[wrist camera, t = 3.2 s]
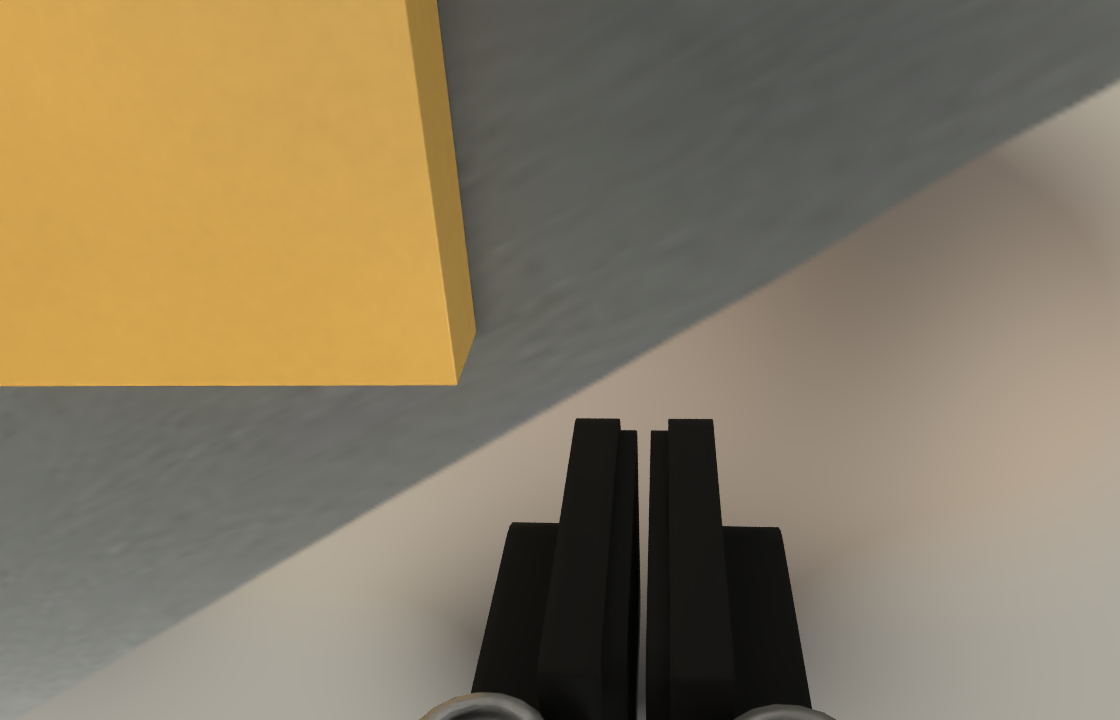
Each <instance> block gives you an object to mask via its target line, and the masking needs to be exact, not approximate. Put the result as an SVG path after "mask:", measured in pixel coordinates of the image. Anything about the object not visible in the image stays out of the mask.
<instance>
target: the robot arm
mask: <svg viewBox="0 0 1120 720" xmlns="http://www.w3.org/2000/svg"><path fill="white" fill-rule="evenodd" d="M668 424H669V425H668V431H651V450H650V451H651V453H650V494H649V539H648V540H649V541H648V544H649V545H648V586H647V630H646V632H647V633H646V720H836V719H834V718H832V717H830V716H829V715H827V714H825V713H823V712H819V711H816V710H813V709H812V706H811V700H810V694H809V689H808V683H807V677H806V671H805V665H804V660H803V654H802V648H801V643H800V637H799V631H798V625H797V619H796V614H795V608H794V602H793V596H792V590H791V584H790V578H789V573H788V567H787V561H786V556H785V550H784V544H783V539H782V534H781V531H780V529H779V528H778V527H734V526H733V527H732V526H722V518H721V508H720V495H719V484H718V473H717V461H716V451H715V450H716V449H715V438H714V426H713V420H712V419H669V420H668ZM637 451H638V446H637V431H636V430H621V426H620V419H590V418H585V419H584V418H582V419H581V418H580V419H579V418H577V419H576V420H575V425H574V432H573V438H572V445H571V451H570V458H569V464H568V471H567V477H566V483H565V490H564V496H563V503H562V509H561V516H560V522H559V523H525V522H524V523H523V522H520V523H519V522H513V523H512V524H511V525H510V527H509V530H508V533H507V537H506V542H505V546H504V551H503V555H502V559H501V564H500V568H499V572H498V577H497V581H496V585H495V590H494V594H493V598H492V603H491V607H490V612H489V616H488V620H487V625H486V629H485V633H484V638H483V642H482V647H481V651H480V655H479V660H478V664H477V668H476V673H475V678H474V681H473V686H472V690H471V694H468V695H462V696H458V697H454V698H452V699H450V700H448V701H446V702H444V703H442V704H440V705H438V706H436V707H434V708H433V709H431V710H430V711H429V712H428V713H427V714H426V715H425V716H423V717H422V718H421V719H420V720H637V709H638V678H639V676H638V675H639V645H640V550H639V501H638V499H639V498H638V452H637Z"/></svg>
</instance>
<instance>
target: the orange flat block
mask: <svg viewBox="0 0 1120 720" xmlns="http://www.w3.org/2000/svg"><path fill="white" fill-rule="evenodd" d="M475 334H476V326H475V317H474V309H473V301H472V292H471V284H470V275H469V267H468V259H467V250H466V242H465V234H464V225H463V217H462V208H461V200H460V192H459V183H458V175H457V166H456V158H455V150H454V141H453V133H452V125H451V116H450V108H449V99H448V91H447V83H446V74H445V66H444V58H443V49H442V41H441V32H440V24H439V16H438V7H437V0H0V386H280V385H457V384H458V381H459V378H460V376H461V373H462V370H463V367H464V364H465V362H466V359H467V356H468V353H469V351H470V348H471V345H472V342H473V339H474V337H475Z"/></svg>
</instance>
